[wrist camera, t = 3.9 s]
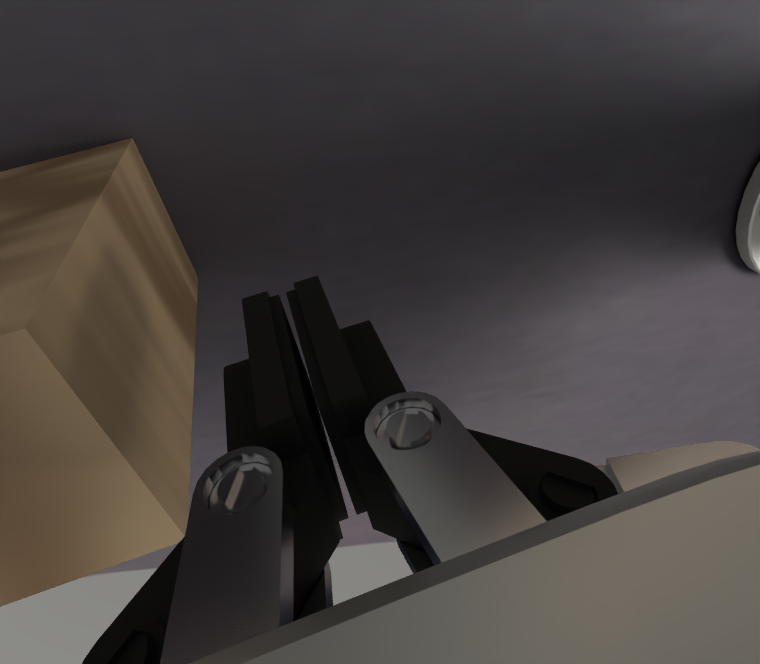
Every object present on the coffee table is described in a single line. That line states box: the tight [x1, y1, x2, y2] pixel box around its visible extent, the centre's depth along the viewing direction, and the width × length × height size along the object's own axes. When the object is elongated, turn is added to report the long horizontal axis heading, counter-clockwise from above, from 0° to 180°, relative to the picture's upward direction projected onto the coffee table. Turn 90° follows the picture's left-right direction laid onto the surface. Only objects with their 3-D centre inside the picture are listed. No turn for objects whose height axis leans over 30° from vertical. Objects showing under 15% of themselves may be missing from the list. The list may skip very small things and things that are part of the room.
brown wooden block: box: [0, 138, 198, 607], centre depth 14 cm, size 5×6×13 cm
